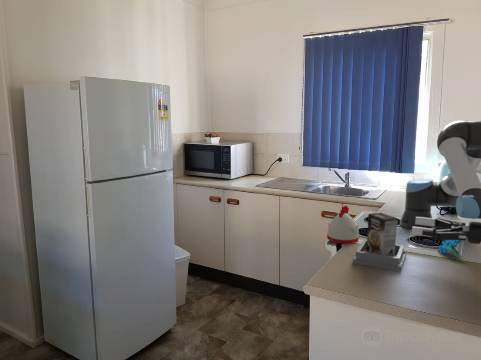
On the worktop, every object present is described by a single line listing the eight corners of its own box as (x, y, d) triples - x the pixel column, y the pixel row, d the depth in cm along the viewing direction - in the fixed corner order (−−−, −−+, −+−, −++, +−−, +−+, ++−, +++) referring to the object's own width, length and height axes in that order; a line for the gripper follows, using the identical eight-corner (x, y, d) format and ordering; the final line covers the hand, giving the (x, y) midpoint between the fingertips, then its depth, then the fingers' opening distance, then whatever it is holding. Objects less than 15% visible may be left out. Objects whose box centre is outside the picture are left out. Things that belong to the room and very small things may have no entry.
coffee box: (365, 253, 153) (367, 213, 150) (378, 250, 155) (380, 211, 153) (381, 261, 145) (384, 219, 142) (395, 258, 147) (397, 217, 144)
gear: (436, 243, 163) (457, 230, 158) (446, 254, 162) (467, 240, 157) (437, 256, 153) (459, 242, 148) (448, 267, 153) (471, 253, 148)
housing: (361, 249, 162) (362, 238, 161) (405, 256, 154) (406, 245, 153) (352, 263, 147) (353, 252, 146) (400, 271, 139) (401, 259, 138)
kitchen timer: (363, 237, 176) (365, 205, 174) (350, 245, 166) (351, 212, 164) (336, 231, 185) (337, 201, 183) (321, 239, 175) (322, 206, 173)
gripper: (482, 256, 122) (409, 245, 132) (478, 233, 143) (416, 225, 153) (485, 233, 121) (411, 224, 131) (481, 213, 142) (417, 207, 152)
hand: (413, 225), depth 142 cm, fingers open, 13 cm apart
